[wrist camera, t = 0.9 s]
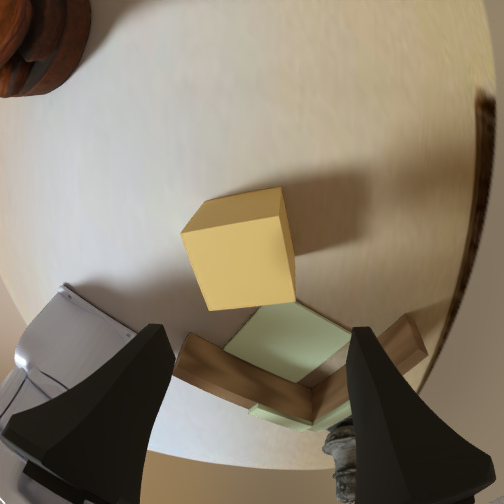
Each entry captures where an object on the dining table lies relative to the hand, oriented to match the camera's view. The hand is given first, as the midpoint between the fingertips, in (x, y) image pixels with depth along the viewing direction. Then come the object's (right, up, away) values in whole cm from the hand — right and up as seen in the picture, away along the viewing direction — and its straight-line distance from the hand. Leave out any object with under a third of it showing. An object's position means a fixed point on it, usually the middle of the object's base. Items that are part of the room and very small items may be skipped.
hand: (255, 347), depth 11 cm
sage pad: (+3, -4, +13) cm, 14 cm away
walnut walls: (+4, -3, +13) cm, 14 cm away
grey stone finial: (+11, -17, +20) cm, 29 cm away
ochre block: (0, +5, +9) cm, 10 cm away
